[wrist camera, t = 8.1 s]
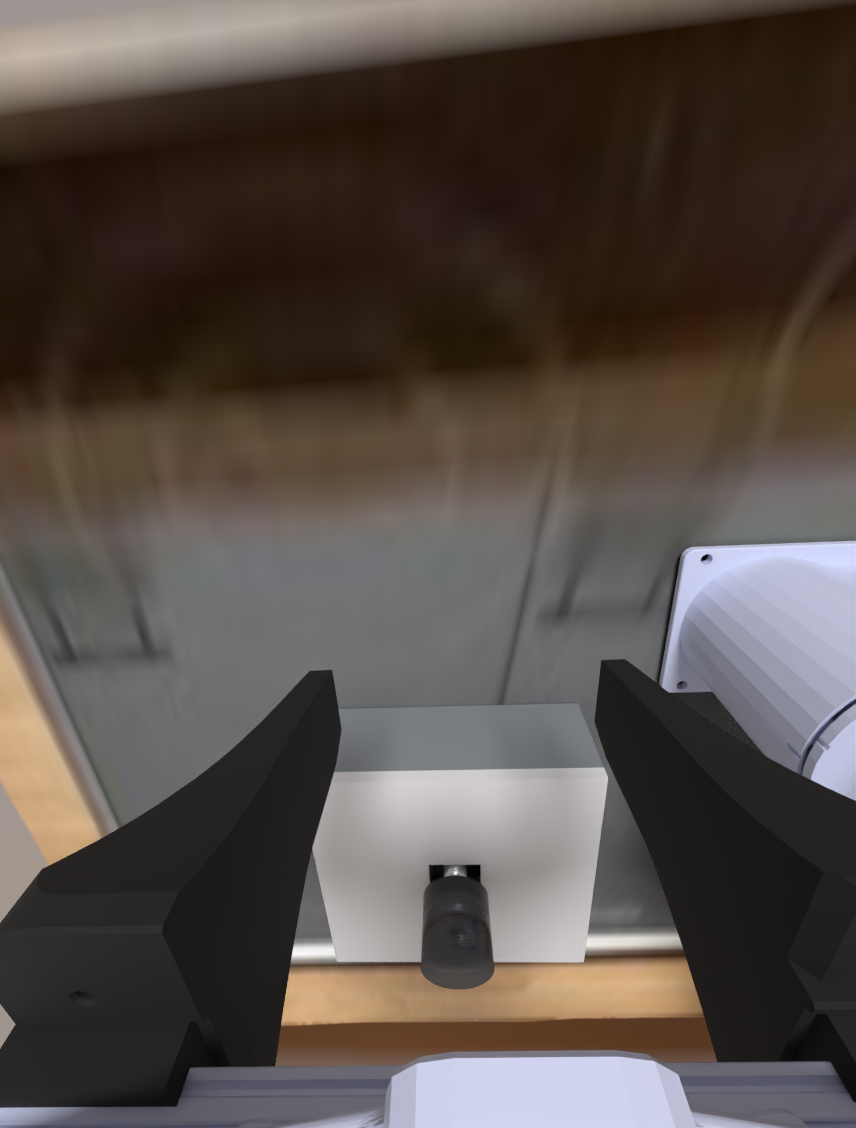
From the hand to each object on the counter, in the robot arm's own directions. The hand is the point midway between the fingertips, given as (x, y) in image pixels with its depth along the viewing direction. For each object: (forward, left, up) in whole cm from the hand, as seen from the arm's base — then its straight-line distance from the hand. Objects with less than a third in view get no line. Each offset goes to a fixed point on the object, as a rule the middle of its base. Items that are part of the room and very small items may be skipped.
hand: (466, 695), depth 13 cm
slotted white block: (+1, +16, -10) cm, 19 cm away
